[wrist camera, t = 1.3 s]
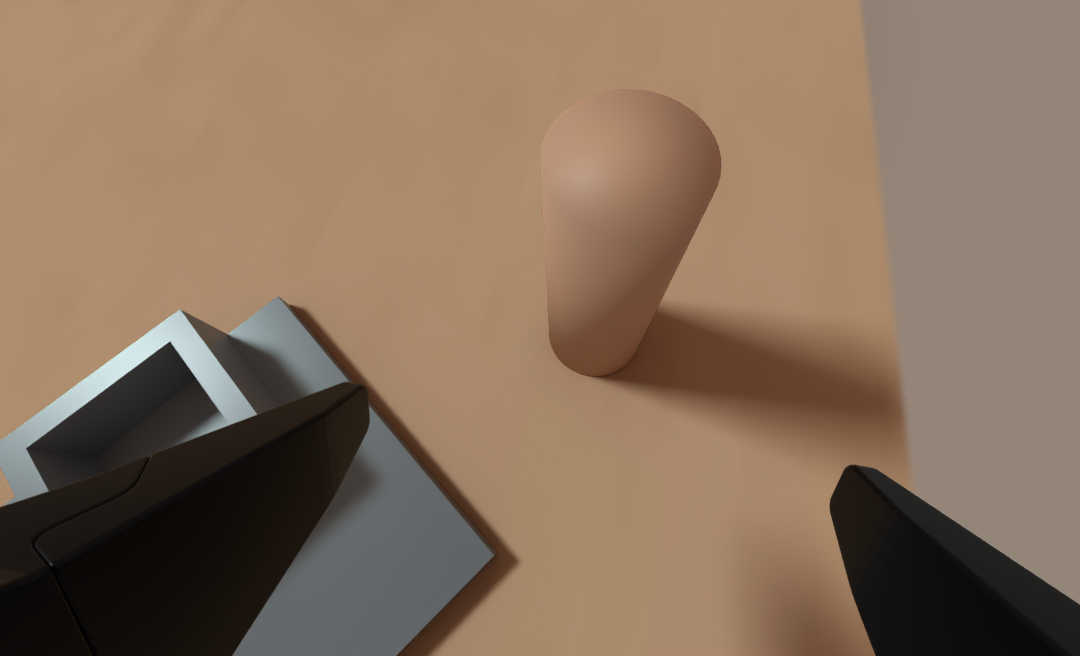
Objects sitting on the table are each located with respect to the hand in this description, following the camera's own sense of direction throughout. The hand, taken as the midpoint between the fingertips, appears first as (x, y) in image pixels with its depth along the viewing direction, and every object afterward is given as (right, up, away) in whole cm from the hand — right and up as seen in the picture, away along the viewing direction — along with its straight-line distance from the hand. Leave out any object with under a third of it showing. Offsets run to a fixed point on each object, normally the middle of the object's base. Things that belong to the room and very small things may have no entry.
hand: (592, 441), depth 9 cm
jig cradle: (-13, -7, +12) cm, 19 cm away
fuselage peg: (+2, +2, +14) cm, 15 cm away
